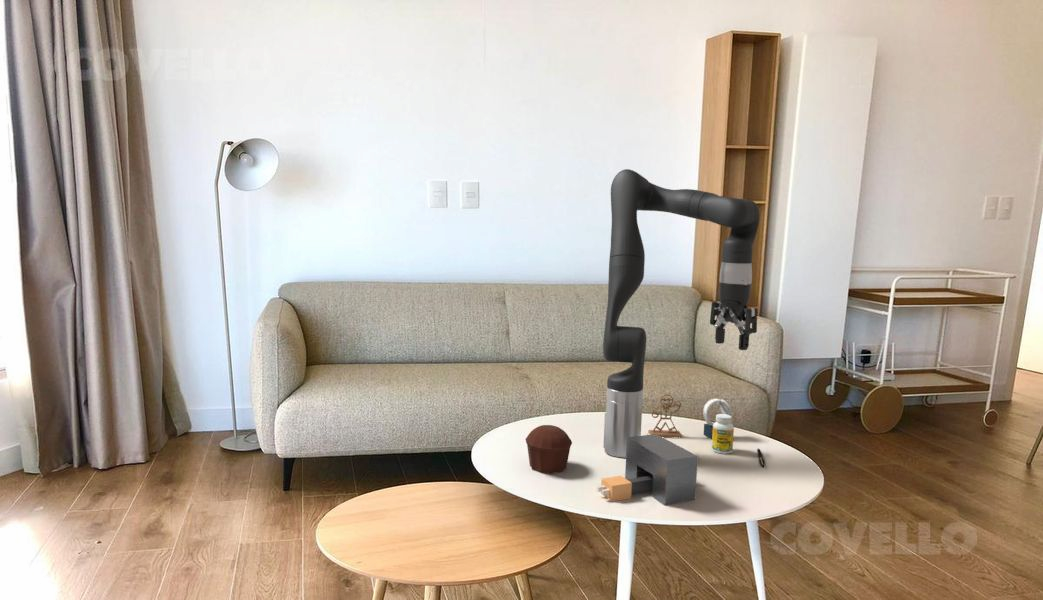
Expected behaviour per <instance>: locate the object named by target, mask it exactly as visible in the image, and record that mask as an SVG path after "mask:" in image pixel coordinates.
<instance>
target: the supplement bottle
mask: <svg viewBox="0 0 1043 600" xmlns="http://www.w3.org/2000/svg"><path fill="white" fill-rule="evenodd" d="M732 420H733V419H732V415H731V416H730V415H726V414H723V413H717V414H716V415H715V422H714V424H713V435H712V439H711V451H713V452H714V453H717V454H722V455H726V454H727V455H728V454H731V453H733V449H734V433H735V431H734V430H735V429H734V425H733V423H732Z"/></svg>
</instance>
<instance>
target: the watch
mask: <svg viewBox="0 0 1043 600" xmlns="http://www.w3.org/2000/svg"><path fill="white" fill-rule="evenodd" d="M715 403H717V406H718V408H719V410H720V412H721V414H726V415H730V416H731V417H732V415H733V410H732V408H731V406H730V405H729V403H727V401H726V400H725V399H722V398H721V399H720V398H710V399H709V400H707V402H706V403H705V404H704V406H703V408H702V409H703V411H702V417H703V418H704V421H705V422H706V423H704V424H703V435H704V436H705V437H707V438H708V439H710V440H712V435H713V424H714V423H715V422H714V423H713V421H712V419H711V417H710V414H709V409H710V408H711V406H712V405H713V404H715Z"/></svg>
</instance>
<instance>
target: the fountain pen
mask: <svg viewBox="0 0 1043 600" xmlns="http://www.w3.org/2000/svg"><path fill="white" fill-rule="evenodd" d="M756 450H757V456H758V461H759V465H760V466H761V467H762V468H765V467H766V462H765V458H764V456H763V454H762V451H761V449H760V448H757V449H756Z"/></svg>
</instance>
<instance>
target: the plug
mask: <svg viewBox="0 0 1043 600" xmlns="http://www.w3.org/2000/svg"><path fill="white" fill-rule="evenodd" d="M652 490H653V475H651V476H645V477H638V478H632V479H625V476H624V477H623V476H622V475H615V476H611V477H603V478H601V484H600V486H597V487H596V492H598V493H600V494H601V495H602V496H604V497H605V498H606V499H608V500H609V501H610V502H614V501H620V500H621V501H622V500H627V499H631V498H632V496H635V495H640V494H641V495H642V494H648V493H652Z"/></svg>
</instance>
